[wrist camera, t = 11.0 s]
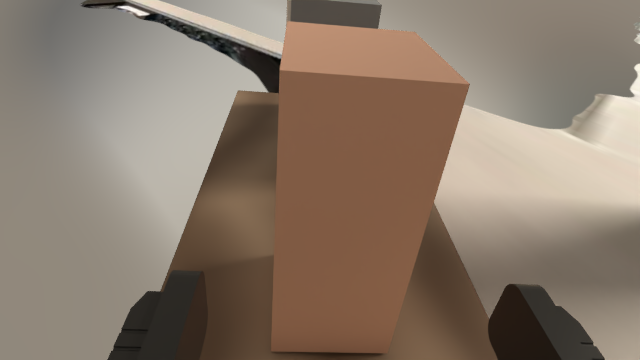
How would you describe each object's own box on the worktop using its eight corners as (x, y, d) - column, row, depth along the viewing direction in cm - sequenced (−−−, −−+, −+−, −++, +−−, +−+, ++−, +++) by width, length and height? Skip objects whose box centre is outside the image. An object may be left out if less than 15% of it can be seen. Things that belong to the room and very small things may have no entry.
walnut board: (383, 113, 44) (385, 100, 43) (511, 413, 17) (524, 394, 16) (238, 103, 42) (238, 90, 41) (128, 411, 16) (121, 391, 15)
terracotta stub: (367, 254, 22) (414, 31, 15) (387, 353, 17) (469, 84, 10) (278, 251, 21) (287, 21, 15) (270, 351, 16) (279, 70, 10)
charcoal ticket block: (337, 108, 40) (353, -23, 33) (352, 184, 28) (381, 5, 22) (286, 104, 39) (292, -29, 33) (280, 180, 28) (287, -4, 21)
